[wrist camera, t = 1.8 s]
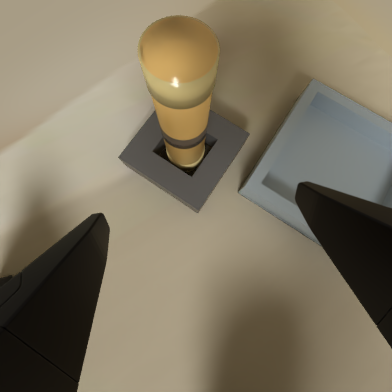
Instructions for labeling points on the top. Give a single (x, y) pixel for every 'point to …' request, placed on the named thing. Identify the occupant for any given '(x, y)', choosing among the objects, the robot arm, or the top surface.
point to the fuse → (181, 83)
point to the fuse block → (174, 177)
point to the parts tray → (323, 155)
